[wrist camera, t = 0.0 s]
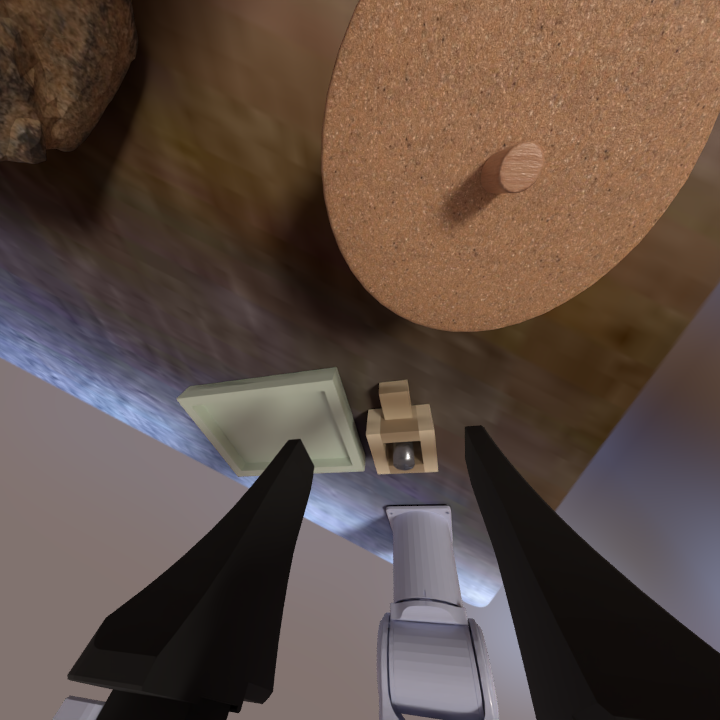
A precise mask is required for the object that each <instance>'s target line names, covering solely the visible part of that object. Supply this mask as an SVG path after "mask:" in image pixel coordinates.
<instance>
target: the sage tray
mask: <svg viewBox="0 0 720 720" xmlns="http://www.w3.org/2000/svg"><path fill="white" fill-rule="evenodd" d="M177 400H178V402H179V403H180V404H181V406H182V407H183V408H184V409H185V411H186V412H187V413H188V414H189V416H190V417H191V418H192V419H193V421H194V422H195V423H196V424H197V426H198V427H199V428H200V429H201V431H202V432H203V433H204V434H205V436H206V437H207V438H208V440H209V441H210V442H211V443H212V445H213V446H214V447H215V448H216V450H217V451H218V452H219V453H220V455H221V456H222V457H223V458H224V460H225V461H226V462H227V463H228V465H229V466H230V467H231V469H232V470H233V471H234V472H235V474H236V475H237V476H238V477H241V476H260V475H261V474H262V473H263V471H264V470H265V469H266V468H267V466H268V465H269V464H270V463H271V461H272V460H273V459H274V457H275V456H276V455H277V454H278V452H279V451H280V450H281V449H282V447H283V446H284V445H285V444H286V442H287V441H288V440H291V439H301V441H302V443H303V444H304V446H305V448H306V450H307V452H308V454H309V456H310V458H311V460H312V462H313V464H314V473H333V472H355V471H364V469H365V459H366V455H365V452H364V449H363V446H362V443H361V440H360V437H359V434H358V431H357V428H356V425H355V422H354V419H353V416H352V413H351V410H350V407H349V404H348V400H347V397H346V394H345V391H344V388H343V385H342V382H341V379H340V376H339V373H338V370H337V367H333V368H326V369H318V370H311V371H303V372H295V373H288V374H280V375H273V376H265V377H257V378H250V379H242V380H235V381H227V382H219V383H212V384H204V385H197V386H189V387H188V388H187V389H186V390H185V391H184V392H183V393H182V394H181V395H180V396H179V397H178V398H177Z"/></svg>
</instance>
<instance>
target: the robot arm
mask: <svg viewBox="0 0 720 720" xmlns="http://www.w3.org/2000/svg"><path fill="white" fill-rule="evenodd" d="M465 460H466V464H467V469H468V473H469V477H470V481H471V485H472V488H473V491H474V494H475V496H476V499H477V502H478V505H479V508H480V511H481V514H482V517H483V519H484V522H485V525H486V528H487V531H488V534H489V537H490V539H491V542H492V545H493V548H494V552H495V555H496V558H497V561H498V565H499V569H500V573H501V577H502V581H503V584H504V588H505V592H506V596H507V599H508V604H509V607H510V612H511V615H512V619H513V623H514V627H515V631H516V635H517V639H518V644H519V648H520V651H521V655H522V660H523V664H524V668H525V672H526V676H527V681H528V685H529V689H530V694H531V698H532V702H533V706H534V711H535V715H536V719H537V720H720V653H719V652H717V651H716V650H715V649H713V648H712V647H711V646H710V645H708V644H707V643H706V642H704V641H703V640H702V639H700V638H699V637H698V636H697V635H696V634H694V633H693V632H692V631H691V630H689V629H688V628H687V627H686V626H684V625H683V624H682V623H680V622H679V621H678V620H677V619H675V618H674V617H673V616H672V615H670V614H669V613H668V612H667V611H666V610H665V609H663V608H662V607H661V606H660V605H658V604H657V603H656V602H655V601H654V600H652V599H651V598H650V597H649V596H647V595H646V594H645V593H643V592H642V591H641V590H640V589H639V588H638V587H637V586H636V585H634V584H633V583H632V582H631V581H630V580H628V579H627V578H626V577H625V576H624V575H623V574H622V573H620V572H619V571H618V570H617V569H616V568H615V567H614V566H613V565H611V564H610V563H609V562H608V561H607V560H605V559H604V558H603V557H602V556H601V555H600V554H599V553H598V552H596V551H595V550H594V549H593V548H592V547H591V546H590V545H589V544H588V543H587V542H586V541H585V540H583V539H582V538H581V537H580V536H579V535H578V534H577V533H576V532H575V531H574V530H573V529H572V528H571V527H570V526H569V525H567V523H565V521H564V520H562V518H560V517H559V516H558V515H557V513H556V512H555V511H554V510H553V509H552V508H551V507H550V506H549V505H548V504H547V503H546V502H545V501H544V500H543V499H542V498H541V497H540V496H539V495H538V494H537V493H536V492H535V490H534V489H533V488H532V487H531V486H530V485H529V484H528V483H527V482H526V480H525V479H524V478H523V477H522V476H521V475H520V474H519V472H518V471H517V470H516V469H515V468H514V466H513V465H512V464H511V463H510V462H509V460H508V459H507V458H506V457H505V456H504V454H503V453H502V452H501V450H500V449H499V448H498V447H497V445H496V444H495V443H494V441H493V440H492V438H491V437H490V436H489V434H488V433H487V431H486V430H485V428H484V427H483V426H481V425H480V426H467V427H465ZM313 473H314V464H313V462H312V460H311V458H310V456H309V454H308V452H307V450H306V448H305V446H304V444H303V443H302V441H301V439H291V440H288V441H287V442H286V444H285V445H284V446H283V447H282V449H281V450H280V451H279V452H278V454H277V455H276V456H275V457H274V459H273V460H272V461H271V463H270V464H269V465H268V466H267V468H266V469H265V470H264V471H263V473H262V474H261V475H260V476H259V478H258V479H257V480H256V481H255V483H254V484H253V485H252V486H251V487H250V488H249V490H248V491H247V492H246V493H245V494H244V495H243V497H242V498H241V499H240V500H239V501H238V502H237V503H236V505H235V506H234V507H233V508H232V509H231V510H230V511H229V512H228V513H227V514H226V515H225V516H224V517H223V519H221V520H220V521H219V523H218V524H217V525H216V526H215V527H214V528H213V529H212V530H211V531H210V532H209V533H208V534H207V535H205V536H204V537H203V538H202V539H201V540H200V541H199V542H198V543H197V544H196V545H195V546H193V547H192V548H191V549H190V550H189V551H188V552H187V553H186V554H185V555H184V556H183V557H181V558H180V559H179V560H178V561H177V562H176V563H175V564H174V565H172V566H171V567H170V568H169V569H168V570H166V571H165V572H164V573H163V574H162V575H160V576H159V577H158V578H157V579H156V580H154V581H153V582H152V583H151V584H149V585H148V586H147V587H146V588H144V589H143V590H142V591H141V592H139V593H138V594H137V595H135V596H134V597H133V598H131V599H130V600H129V601H127V602H126V603H125V604H123V605H122V606H121V607H120V608H118V609H117V610H116V611H114V612H113V613H112V614H110V615H109V616H108V617H106V618H105V620H104V621H103V623H102V625H101V626H100V627H99V629H98V630H97V632H96V633H95V635H94V636H93V638H92V639H91V641H90V642H89V644H88V645H87V647H86V648H85V650H84V651H83V653H82V654H81V656H80V658H79V659H78V660H77V662H76V663H75V665H74V666H73V668H72V669H71V671H70V672H69V674H68V679H69V680H72V681H76V682H80V683H85V684H90V685H94V686H99V687H104V688H109V689H113V690H112V692H111V694H110V696H109V697H108V699H107V701H106V702H103V701H98V700H92V699H87V698H81V697H75V696H69V697H67V698H66V699H65V700H64V702H63V704H62V705H61V707H60V708H59V710H58V711H57V713H56V714H55V716H54V717H53V719H52V720H226V719H227V716H228V713H229V712H235V713H239V712H240V710H241V707H242V704H243V701H247V702H254V703H260V704H263V703H264V702H265V701H266V700H267V699H268V698H269V697H270V695H271V694H272V692H273V686H274V676H275V668H276V658H277V651H278V642H279V635H280V628H281V621H282V615H283V607H284V602H285V596H286V590H287V583H288V579H289V573H290V568H291V563H292V558H293V553H294V549H295V545H296V541H297V537H298V534H299V530H300V527H301V523H302V520H303V516H304V513H305V509H306V505H307V502H308V498H309V494H310V491H311V486H312V480H313ZM386 513H387V516H388V519H389V522H390V525H391V528H392V531H393V573H394V574H393V575H394V576H393V577H394V603H391V604H390V613H385V615H384V617H383V618H382V620H381V621H380V625H379V630H378V642H377V682H378V693H379V720H405V719H404V717H403V716H402V714H409V715H415V716H422V717H429V718H435V719H442V720H499V711H498V703H497V698H496V691H495V686H494V681H493V676H492V671H491V666H490V661H489V657H488V652H487V648H486V644H485V640H484V636H483V633H482V630H481V628H480V627H479V626H478V624H476V622H475V620H474V619H470V618H469V619H468V621H467V616H466V610H465V608H464V607H463V604H462V598H461V592H460V587H459V581H458V575H457V570H456V564H455V558H454V553H453V547H452V543H453V538H452V522H451V509H450V507H449V506H388V507H386ZM468 626H469V627H468ZM401 713H402V714H401Z"/></svg>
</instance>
